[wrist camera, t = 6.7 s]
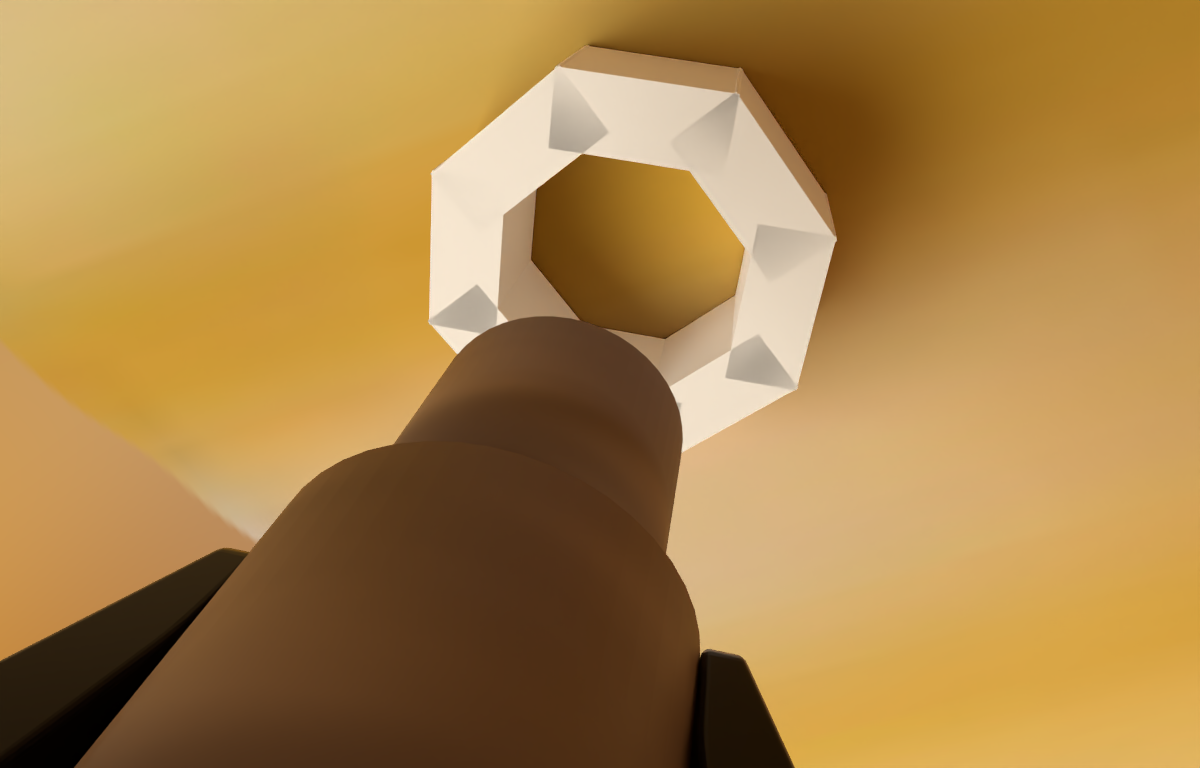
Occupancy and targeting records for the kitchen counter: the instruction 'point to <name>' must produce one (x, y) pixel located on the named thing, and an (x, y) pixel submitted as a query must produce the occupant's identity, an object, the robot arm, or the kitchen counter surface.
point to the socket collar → (657, 137)
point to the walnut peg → (456, 588)
